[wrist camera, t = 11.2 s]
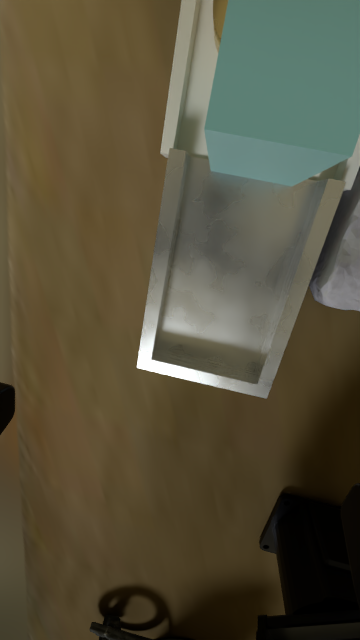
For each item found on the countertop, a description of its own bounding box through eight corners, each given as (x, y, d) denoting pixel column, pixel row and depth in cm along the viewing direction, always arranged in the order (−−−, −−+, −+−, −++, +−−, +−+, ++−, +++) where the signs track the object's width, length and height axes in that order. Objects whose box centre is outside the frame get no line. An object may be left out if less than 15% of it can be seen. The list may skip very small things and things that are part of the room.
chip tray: (339, 191, 15) (350, 189, 14) (165, 157, 15) (160, 153, 14) (478, -189, 10) (515, -246, 9) (220, -219, 11) (220, -278, 9)
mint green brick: (321, 87, 13) (421, -46, 7) (292, 186, 15) (352, 156, 8) (230, 71, 14) (241, -72, 7) (210, 170, 15) (204, 129, 8)
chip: (279, 68, 13) (287, 48, 12) (213, 73, 14) (211, 55, 12) (287, -21, 12) (297, -57, 11) (214, -13, 13) (213, -46, 11)
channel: (262, 379, 19) (266, 398, 18) (145, 352, 20) (136, 367, 18) (330, 184, 15) (346, 181, 13) (176, 155, 15) (169, 147, 13)
